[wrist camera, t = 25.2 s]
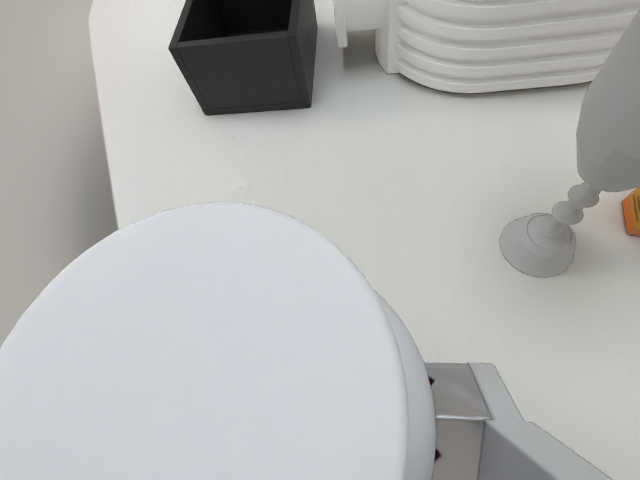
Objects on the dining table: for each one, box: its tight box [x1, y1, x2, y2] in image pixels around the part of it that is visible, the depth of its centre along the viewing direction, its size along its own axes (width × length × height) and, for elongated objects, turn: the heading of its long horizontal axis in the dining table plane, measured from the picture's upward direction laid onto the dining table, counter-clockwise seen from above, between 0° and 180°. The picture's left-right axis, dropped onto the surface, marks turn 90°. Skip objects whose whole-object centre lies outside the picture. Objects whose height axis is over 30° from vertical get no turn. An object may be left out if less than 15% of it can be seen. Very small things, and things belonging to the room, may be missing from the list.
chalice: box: [500, 9, 640, 277], centre depth 18 cm, size 7×7×18 cm
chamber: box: [169, 0, 317, 115], centre depth 37 cm, size 14×12×8 cm
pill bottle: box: [0, 203, 436, 480], centre depth 8 cm, size 6×6×11 cm
